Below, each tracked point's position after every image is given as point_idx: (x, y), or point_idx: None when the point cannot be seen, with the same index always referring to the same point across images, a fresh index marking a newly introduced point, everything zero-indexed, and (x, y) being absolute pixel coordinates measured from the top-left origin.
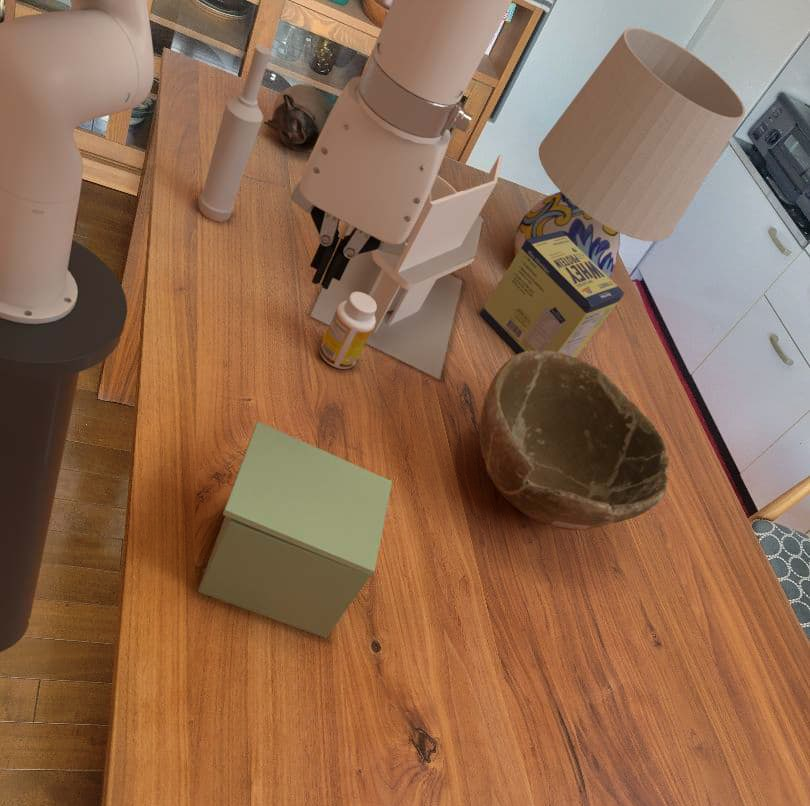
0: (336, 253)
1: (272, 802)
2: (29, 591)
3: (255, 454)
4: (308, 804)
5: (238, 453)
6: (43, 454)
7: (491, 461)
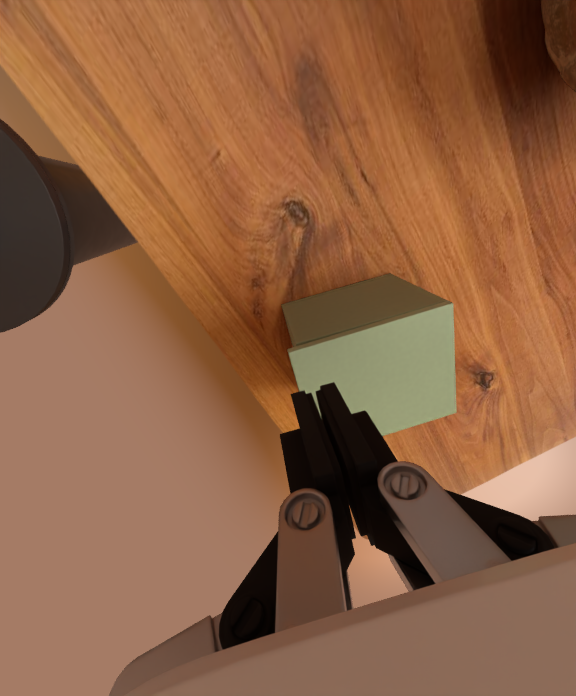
0: (364, 535)
1: (402, 456)
2: None
3: (309, 391)
4: (421, 447)
5: (254, 241)
6: (105, 229)
7: (570, 73)
